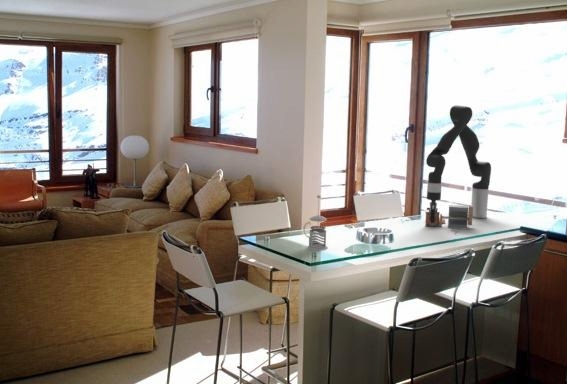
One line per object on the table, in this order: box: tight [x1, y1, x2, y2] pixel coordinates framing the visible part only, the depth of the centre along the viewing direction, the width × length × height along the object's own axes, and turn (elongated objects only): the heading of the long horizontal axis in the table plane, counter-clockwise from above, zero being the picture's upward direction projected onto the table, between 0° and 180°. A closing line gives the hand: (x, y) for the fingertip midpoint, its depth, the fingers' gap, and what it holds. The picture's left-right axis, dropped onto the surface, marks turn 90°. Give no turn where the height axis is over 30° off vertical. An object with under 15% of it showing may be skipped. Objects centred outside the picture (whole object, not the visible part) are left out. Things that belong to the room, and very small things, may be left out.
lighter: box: [424, 207, 441, 227], centre depth 369 cm, size 8×3×10 cm, turn 100°
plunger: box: [439, 204, 474, 227], centre depth 366 cm, size 6×17×12 cm, turn 77°
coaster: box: [424, 217, 446, 225], centre depth 380 cm, size 11×11×2 cm
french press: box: [303, 194, 329, 251], centre depth 310 cm, size 10×12×25 cm
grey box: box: [447, 204, 469, 230], centre depth 366 cm, size 7×10×12 cm, turn 77°
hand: (432, 221), depth 369 cm, fingers closed on lighter, 4 cm apart
